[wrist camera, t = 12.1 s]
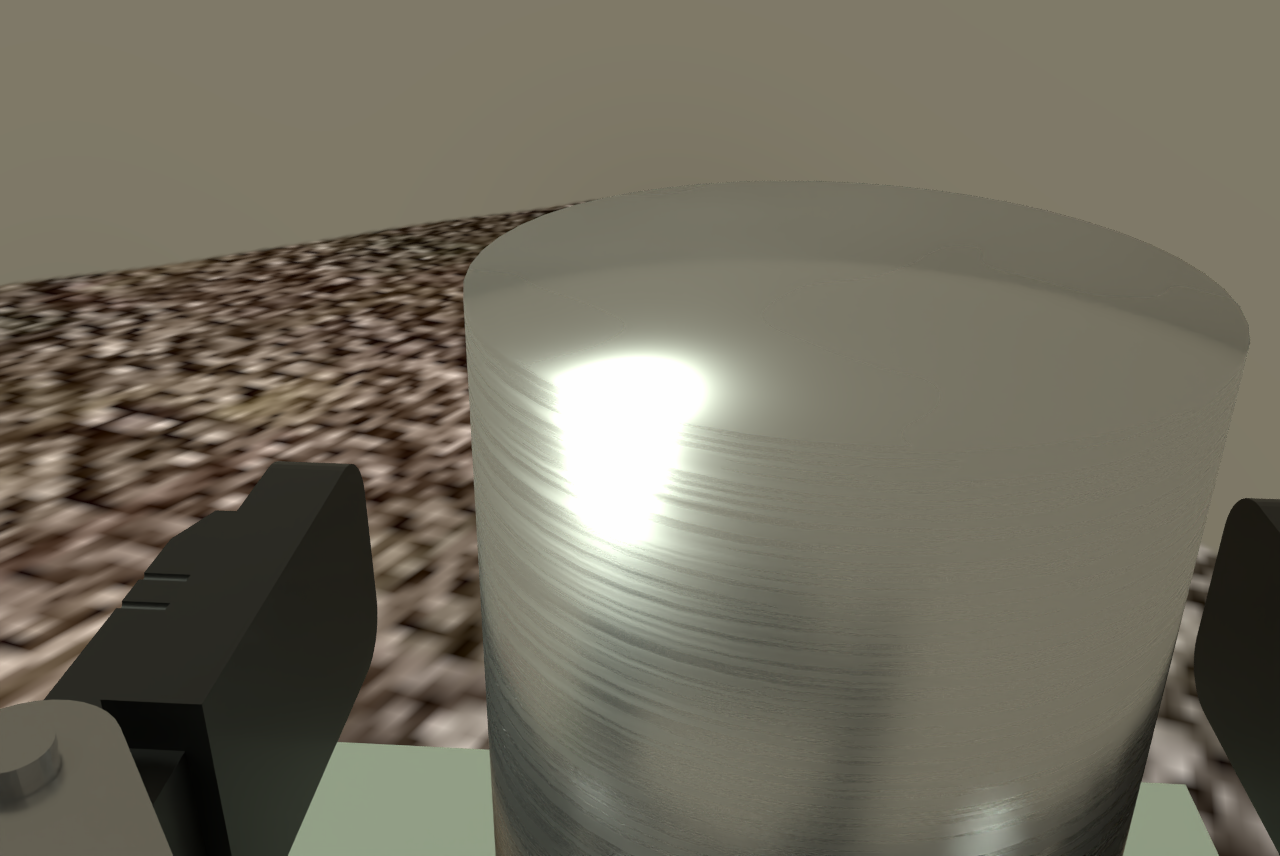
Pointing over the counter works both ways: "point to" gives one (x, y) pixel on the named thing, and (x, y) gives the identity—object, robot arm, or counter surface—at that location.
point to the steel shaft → (834, 519)
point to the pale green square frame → (463, 811)
